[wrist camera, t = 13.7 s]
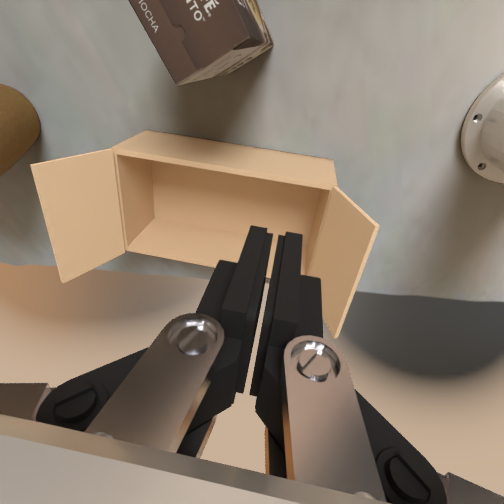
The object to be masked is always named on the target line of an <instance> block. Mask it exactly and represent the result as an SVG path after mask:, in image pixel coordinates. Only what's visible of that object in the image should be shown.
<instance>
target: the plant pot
mask: <svg viewBox="0 0 504 504" xmlns="http://www.w3.org/2000/svg"><path fill="white" fill-rule="evenodd" d="M39 133H40V122H39V118H38V115H37V113H36V111H35V109H34V107H33V105H32V104H31V103H30V101H29V100H28V99H27V98H26V97H25V96H24V95H23V94H21V93H20V92H19V91H17V90H15V89H14V88H11V87H9V86H6V85H3V84H0V176H2V175H3V174H4V173H5V172H6V171H8V170H9V169H10V168H11V167H12V166H13V165H14V164H15V163H16V162H17V161H18V160H19V159H20V158H21V157H22V156H23V155H24V154H25V153H26V152H27V151H28V150H29V148H30V147H31V146H32V145H33V143H34V142H35V141H36V140H37V138H38V136H39Z"/></svg>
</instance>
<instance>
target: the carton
mask: <svg viewBox="0 0 504 504" xmlns="http://www.w3.org/2000/svg"><path fill="white" fill-rule="evenodd" d="M111 149H112V150H113V158H114V166H115V174H116V182H117V191H118V199H119V207H120V215H121V223H122V231H123V240H124V248H125V251H131V252H136V253H141V254H146V255H152V256H157V257H162V258H167V259H173V260H178V261H183V262H188V263H194V264H199V265H204V266H209V267H215V268H216V266H217V263H218V261H219V260H226V261H231V262H236V263H238V260H239V258H240V255H241V252H242V249H243V246H244V243H245V240H246V238H247V235H248V232H249V229H250V226H251V225H253V226H259V227H264V228H268V229H267V233H273V239H272V244H271V250H270V256H269V262H268V268H267V274H266V277H267V278H271V273H272V268H273V263H274V257H275V252H276V246H277V241H278V235H284V236H285V233H286V231H287V232H293V233H298V234H303V240H302V259H301V275H307V276H309V274H310V271H311V267H312V263H313V259H314V256H315V252H316V248H317V244H318V241H319V237H320V233H321V229H322V226H323V222H324V218H325V214H326V211H327V207H328V203H329V199H330V196H331V192H332V188H333V186H336V187H337V186H338V185H337V180H336V174H335V168H334V163H333V160H332V159H325V158H319V157H313V156H307V155H301V154H294V153H288V152H282V151H276V150H270V149H263V148H257V147H251V146H245V145H239V144H232V143H226V142H220V141H214V140H208V139H201V138H195V137H189V136H183V135H177V134H170V133H164V132H158V131H152V130H146V131H144V132H142V133H140V134H137V135H135V136H133V137H131V138H129V139H127V140H125V141H123V142H121V143H119V144H117V145H115V146H113V147H111Z"/></svg>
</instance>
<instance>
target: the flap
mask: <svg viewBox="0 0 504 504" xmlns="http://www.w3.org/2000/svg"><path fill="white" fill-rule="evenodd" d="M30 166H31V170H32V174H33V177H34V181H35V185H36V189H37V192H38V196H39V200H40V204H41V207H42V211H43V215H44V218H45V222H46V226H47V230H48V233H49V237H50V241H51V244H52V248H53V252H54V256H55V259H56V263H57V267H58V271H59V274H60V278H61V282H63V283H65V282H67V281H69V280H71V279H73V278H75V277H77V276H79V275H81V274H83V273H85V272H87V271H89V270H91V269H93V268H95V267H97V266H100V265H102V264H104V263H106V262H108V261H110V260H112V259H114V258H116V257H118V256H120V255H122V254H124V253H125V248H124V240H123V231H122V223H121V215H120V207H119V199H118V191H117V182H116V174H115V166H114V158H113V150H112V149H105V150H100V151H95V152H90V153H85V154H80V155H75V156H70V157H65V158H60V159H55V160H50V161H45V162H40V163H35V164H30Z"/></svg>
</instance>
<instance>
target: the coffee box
mask: <svg viewBox="0 0 504 504" xmlns="http://www.w3.org/2000/svg"><path fill="white" fill-rule="evenodd" d="M129 2H130V4H131V6H132V7H133V9H134V11H135V13H136V15H137V16H138V18H139V20H140V22H141V23H142V25H143V27H144V29H145V31H146V32H147V34H148V36H149V38H150V39H151V41H152V43H153V45H154V46H155V48H156V50H157V52H158V53H159V55H160V57H161V59H162V61H163V62H164V64H165V66H166V68H167V69H168V71H169V73H170V75H171V76H172V78H173V80H174V81H175V83H176V85H177V86H179V85H182V84H187V83H191V82H195V81H200V80H204V79H208V78H213V77H218V76H222V75H227V74H229V73H231V72H233V71H234V70H236V69H238V68H239V67H241V66H242V65H244V64H246V63H247V62H249V61H251V60H252V59H254V58H256V57H257V56H259V55H260V54H262V53H264V52H265V51H267V50H268V49H270V48H271V47H272V46H273V45H274V42H273V39H272V37H271V34H270V32H269V29H268V27H267V24H266V22H265V20H264V17H263V15H262V12H261V10H260V8H259V5H258V3H257V0H129Z"/></svg>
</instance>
